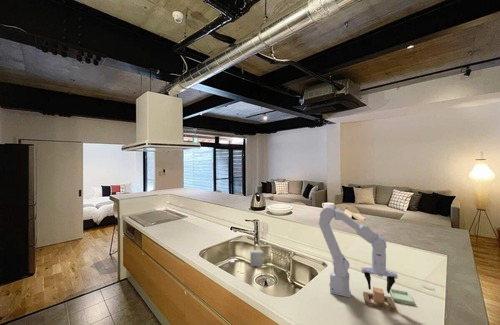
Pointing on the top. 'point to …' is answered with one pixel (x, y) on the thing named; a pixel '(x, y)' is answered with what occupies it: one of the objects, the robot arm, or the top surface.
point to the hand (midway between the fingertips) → (378, 290)
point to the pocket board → (378, 305)
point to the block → (378, 295)
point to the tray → (401, 296)
